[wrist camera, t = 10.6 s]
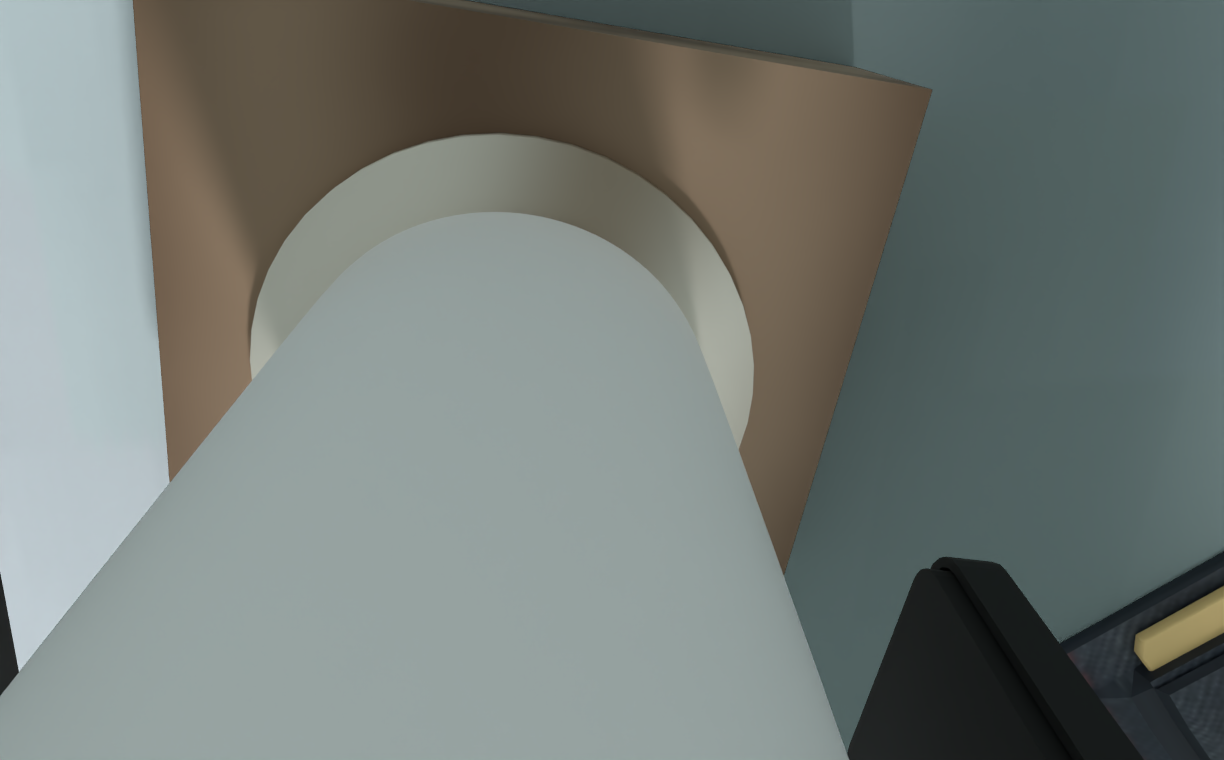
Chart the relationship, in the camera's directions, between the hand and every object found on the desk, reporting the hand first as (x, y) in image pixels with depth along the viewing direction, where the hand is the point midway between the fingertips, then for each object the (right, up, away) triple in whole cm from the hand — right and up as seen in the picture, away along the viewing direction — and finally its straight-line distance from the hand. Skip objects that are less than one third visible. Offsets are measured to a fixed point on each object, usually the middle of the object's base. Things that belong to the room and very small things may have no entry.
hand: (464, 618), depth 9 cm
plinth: (0, +4, +8) cm, 9 cm away
